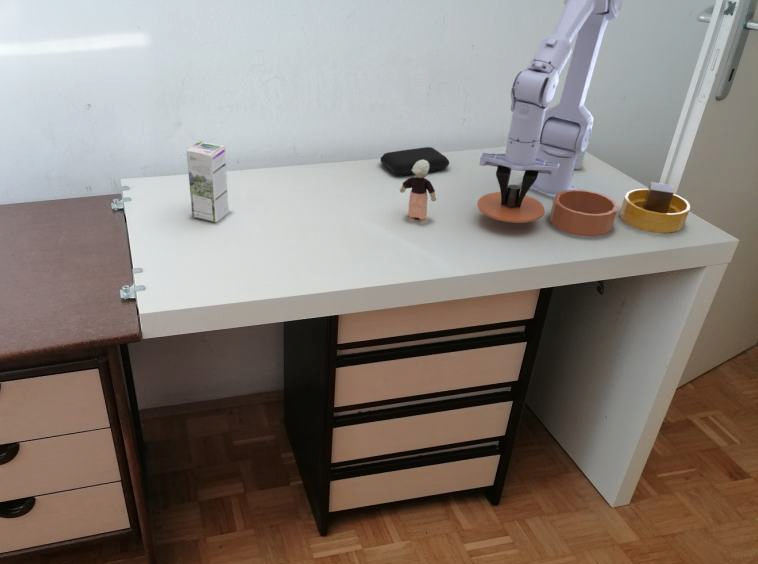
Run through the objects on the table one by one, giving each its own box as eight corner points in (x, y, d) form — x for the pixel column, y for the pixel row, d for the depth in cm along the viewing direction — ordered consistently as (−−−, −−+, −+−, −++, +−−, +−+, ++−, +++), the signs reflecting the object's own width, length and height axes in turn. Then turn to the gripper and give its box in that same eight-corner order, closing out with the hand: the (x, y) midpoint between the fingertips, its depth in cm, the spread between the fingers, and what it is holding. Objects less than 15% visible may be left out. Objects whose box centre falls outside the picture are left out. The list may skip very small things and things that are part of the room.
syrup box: (229, 212, 151) (226, 144, 142) (215, 224, 146) (211, 154, 138) (206, 207, 153) (201, 139, 144) (191, 218, 148) (185, 149, 140)
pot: (537, 222, 149) (542, 199, 146) (571, 206, 155) (577, 184, 152) (588, 244, 141) (595, 221, 138) (623, 227, 147) (629, 204, 144)
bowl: (607, 218, 150) (613, 198, 148) (639, 203, 156) (645, 183, 154) (662, 241, 143) (670, 220, 140) (694, 223, 149) (701, 203, 146)
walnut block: (640, 221, 148) (650, 189, 144) (640, 213, 151) (650, 181, 147) (662, 225, 147) (673, 193, 143) (662, 216, 150) (673, 185, 146)
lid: (463, 208, 146) (466, 184, 143) (504, 191, 153) (508, 168, 150) (515, 231, 138) (521, 207, 135) (556, 213, 145) (562, 189, 142)
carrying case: (429, 154, 178) (374, 162, 173) (430, 142, 176) (375, 149, 172) (451, 170, 170) (395, 179, 165) (453, 158, 168) (396, 166, 164)
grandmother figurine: (435, 218, 149) (443, 159, 142) (432, 226, 146) (439, 166, 139) (398, 213, 151) (404, 154, 144) (394, 220, 148) (400, 161, 141)
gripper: (481, 139, 136) (470, 206, 144) (562, 150, 132) (546, 218, 140) (487, 126, 141) (477, 192, 149) (565, 137, 137) (550, 203, 145)
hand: (511, 204), depth 145 cm, fingers closed on lid, 2 cm apart
